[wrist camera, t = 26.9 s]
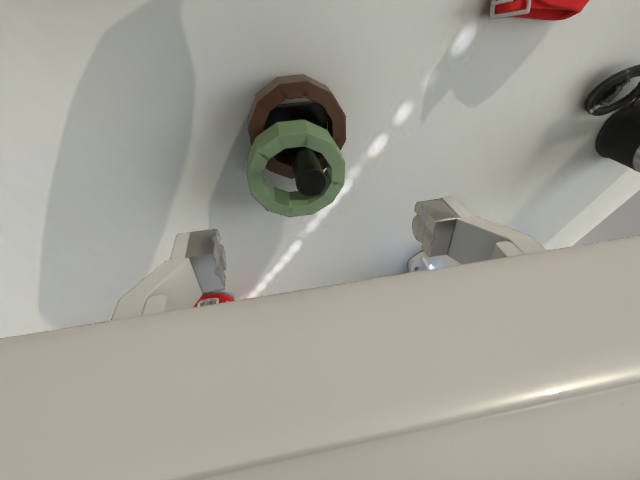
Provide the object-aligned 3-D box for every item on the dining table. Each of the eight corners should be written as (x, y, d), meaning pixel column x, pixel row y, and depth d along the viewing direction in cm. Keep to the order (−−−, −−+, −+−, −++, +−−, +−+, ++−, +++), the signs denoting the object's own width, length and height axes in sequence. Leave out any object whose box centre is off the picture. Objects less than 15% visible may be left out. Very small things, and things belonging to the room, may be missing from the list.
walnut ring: (340, 160, 45) (346, 171, 43) (258, 172, 44) (258, 183, 42) (338, 70, 38) (345, 76, 36) (240, 81, 37) (240, 88, 35)
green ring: (338, 195, 45) (343, 210, 43) (256, 205, 44) (256, 221, 42) (340, 115, 37) (346, 128, 35) (239, 125, 36) (239, 139, 34)
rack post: (327, 160, 46) (350, 211, 36) (269, 167, 45) (276, 221, 35) (325, 100, 41) (351, 139, 31) (259, 106, 40) (265, 149, 30)
